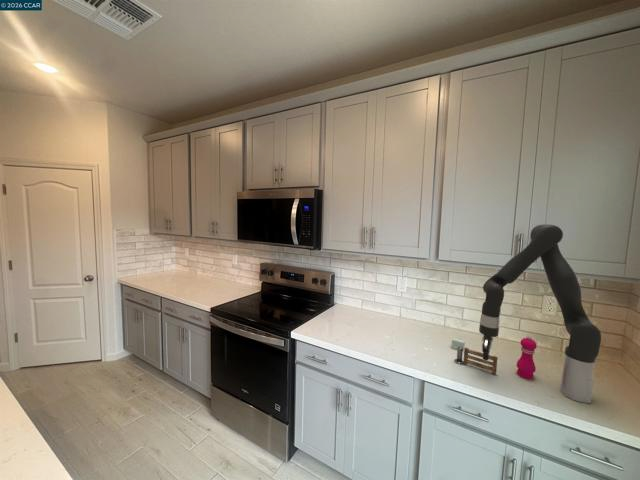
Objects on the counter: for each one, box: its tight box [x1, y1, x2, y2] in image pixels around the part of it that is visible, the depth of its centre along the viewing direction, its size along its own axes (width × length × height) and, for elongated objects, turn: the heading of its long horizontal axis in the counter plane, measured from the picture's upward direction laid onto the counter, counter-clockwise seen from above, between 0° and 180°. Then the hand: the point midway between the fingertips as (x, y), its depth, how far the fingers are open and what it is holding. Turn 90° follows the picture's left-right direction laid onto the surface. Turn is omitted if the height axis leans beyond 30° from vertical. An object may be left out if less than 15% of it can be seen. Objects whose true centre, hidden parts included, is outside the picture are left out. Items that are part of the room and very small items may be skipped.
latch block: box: [451, 337, 466, 352], centre depth 153 cm, size 6×3×5 cm, turn 52°
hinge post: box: [454, 346, 465, 366], centre depth 139 cm, size 4×4×8 cm
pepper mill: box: [516, 334, 537, 380], centre depth 128 cm, size 7×7×20 cm
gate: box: [462, 346, 499, 375], centre depth 134 cm, size 14×2×8 cm, turn 52°
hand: (485, 359), depth 128 cm, fingers closed
